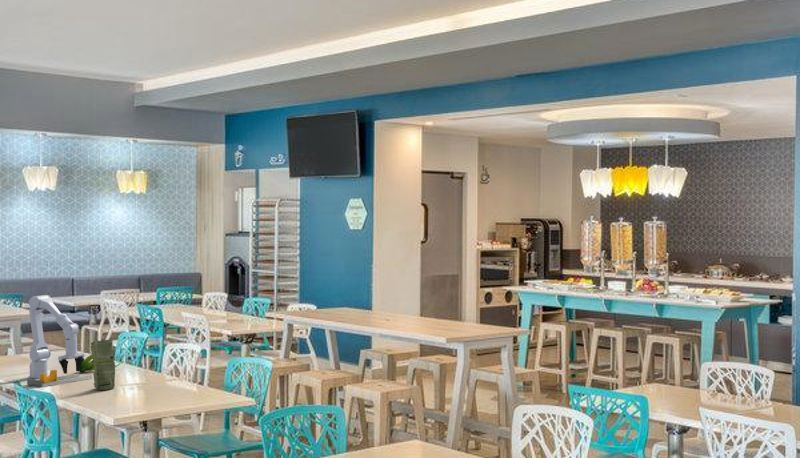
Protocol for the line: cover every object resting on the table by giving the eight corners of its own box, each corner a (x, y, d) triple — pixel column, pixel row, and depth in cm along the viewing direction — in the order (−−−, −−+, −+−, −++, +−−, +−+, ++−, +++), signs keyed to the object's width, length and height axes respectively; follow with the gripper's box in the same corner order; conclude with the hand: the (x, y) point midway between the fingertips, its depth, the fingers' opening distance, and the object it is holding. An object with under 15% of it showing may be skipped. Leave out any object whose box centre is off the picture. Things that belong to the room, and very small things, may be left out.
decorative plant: (133, 370, 517) (133, 344, 516) (77, 374, 506) (77, 347, 506) (131, 365, 534) (130, 340, 533) (76, 369, 523) (76, 343, 523)
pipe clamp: (49, 382, 482) (49, 369, 482) (56, 382, 481) (56, 370, 481) (36, 386, 470) (36, 373, 470) (44, 386, 469) (44, 373, 469)
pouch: (91, 391, 453) (90, 340, 453) (92, 387, 464) (91, 337, 464) (115, 390, 456) (114, 339, 456) (115, 386, 467) (114, 336, 467)
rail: (27, 384, 473) (27, 379, 473) (78, 376, 498) (78, 370, 498) (40, 387, 466) (40, 381, 466) (91, 378, 491) (91, 372, 490)
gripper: (63, 349, 479) (63, 375, 479) (87, 345, 491) (88, 371, 491) (55, 347, 483) (56, 373, 484) (79, 344, 495) (80, 369, 495)
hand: (71, 372), depth 488 cm, fingers open, 7 cm apart
